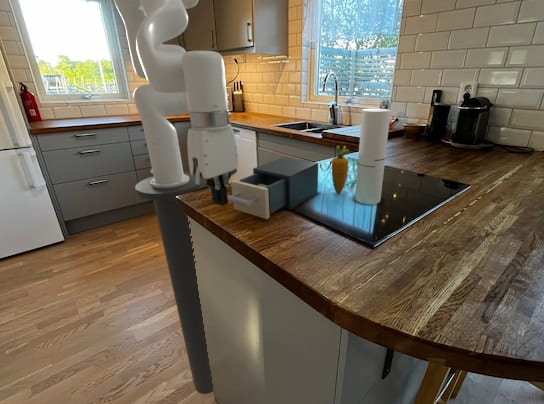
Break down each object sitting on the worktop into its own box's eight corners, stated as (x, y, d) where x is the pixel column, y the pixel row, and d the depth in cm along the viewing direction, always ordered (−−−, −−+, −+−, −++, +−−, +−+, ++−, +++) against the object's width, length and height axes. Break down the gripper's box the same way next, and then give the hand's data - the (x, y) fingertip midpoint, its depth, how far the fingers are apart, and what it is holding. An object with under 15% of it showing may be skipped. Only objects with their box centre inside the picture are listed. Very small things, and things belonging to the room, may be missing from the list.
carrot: (342, 190, 93) (344, 142, 87) (349, 196, 89) (352, 146, 83) (327, 192, 92) (329, 144, 86) (334, 198, 87) (336, 147, 81)
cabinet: (290, 210, 80) (289, 176, 76) (255, 200, 87) (252, 168, 83) (317, 193, 91) (318, 162, 87) (284, 185, 98) (283, 157, 94)
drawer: (255, 226, 70) (253, 195, 67) (221, 214, 76) (218, 185, 73) (297, 201, 83) (297, 174, 80) (266, 193, 89) (264, 168, 86)
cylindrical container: (385, 202, 84) (396, 110, 74) (361, 205, 82) (370, 112, 72) (373, 193, 90) (381, 108, 80) (351, 196, 89) (357, 109, 79)
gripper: (224, 114, 67) (232, 190, 74) (165, 123, 56) (182, 211, 63) (249, 116, 63) (255, 196, 70) (191, 126, 52) (205, 220, 59)
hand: (220, 203), depth 67 cm, fingers closed
